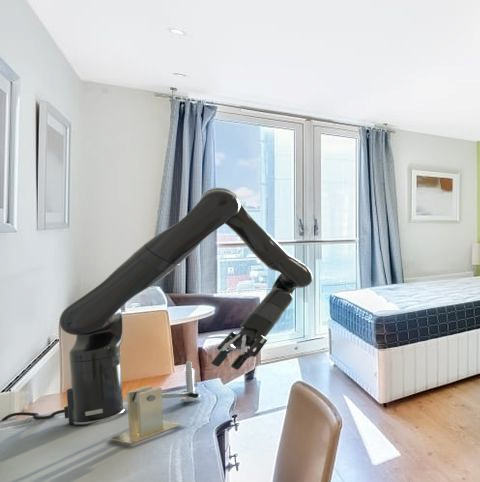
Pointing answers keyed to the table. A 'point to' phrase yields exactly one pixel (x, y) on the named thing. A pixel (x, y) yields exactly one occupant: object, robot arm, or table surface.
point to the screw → (189, 383)
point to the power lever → (174, 395)
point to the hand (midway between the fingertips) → (224, 366)
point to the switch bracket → (144, 416)
